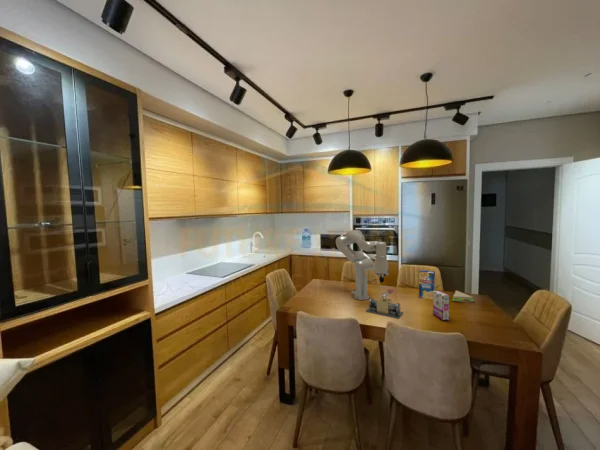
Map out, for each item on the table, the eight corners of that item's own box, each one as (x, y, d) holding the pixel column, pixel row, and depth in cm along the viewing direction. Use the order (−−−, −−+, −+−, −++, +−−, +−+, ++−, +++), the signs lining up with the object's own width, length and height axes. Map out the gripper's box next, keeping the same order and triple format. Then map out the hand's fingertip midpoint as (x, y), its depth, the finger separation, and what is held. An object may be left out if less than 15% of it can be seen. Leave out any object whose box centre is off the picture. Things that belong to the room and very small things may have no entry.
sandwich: (470, 297, 213) (471, 291, 213) (474, 305, 196) (474, 298, 195) (449, 295, 220) (449, 289, 220) (451, 302, 202) (451, 296, 202)
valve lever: (385, 298, 182) (385, 295, 182) (381, 297, 184) (381, 294, 184) (393, 291, 196) (393, 289, 196) (389, 291, 198) (389, 288, 198)
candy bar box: (449, 320, 170) (450, 295, 169) (442, 320, 169) (442, 295, 168) (439, 313, 181) (439, 290, 180) (432, 313, 180) (432, 290, 180)
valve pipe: (365, 311, 187) (365, 297, 186) (371, 306, 196) (371, 293, 195) (398, 318, 173) (398, 303, 173) (403, 313, 182) (403, 298, 182)
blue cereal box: (433, 300, 207) (433, 273, 206) (418, 298, 213) (418, 271, 212) (434, 298, 213) (435, 271, 212) (420, 295, 219) (420, 270, 218)
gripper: (369, 258, 198) (370, 282, 199) (389, 259, 190) (390, 284, 190) (373, 256, 204) (373, 279, 205) (392, 258, 196) (393, 282, 196)
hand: (381, 282), depth 198 cm, fingers closed
